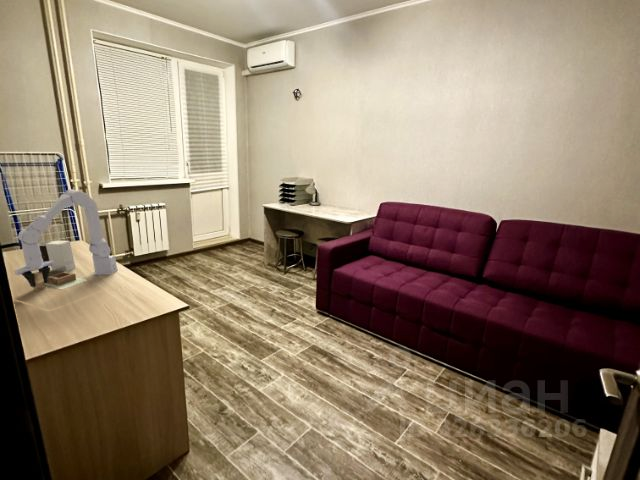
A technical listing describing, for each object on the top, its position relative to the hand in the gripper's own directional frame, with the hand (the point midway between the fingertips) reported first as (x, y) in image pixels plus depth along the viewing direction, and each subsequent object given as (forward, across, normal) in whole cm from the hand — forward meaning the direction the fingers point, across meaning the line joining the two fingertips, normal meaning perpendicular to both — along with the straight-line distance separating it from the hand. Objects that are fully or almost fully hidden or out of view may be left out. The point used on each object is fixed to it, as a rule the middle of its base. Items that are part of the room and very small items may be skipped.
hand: (38, 284), depth 152 cm
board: (+2, +9, -2) cm, 10 cm away
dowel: (+2, 0, 0) cm, 2 cm away
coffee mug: (+3, +25, +35) cm, 43 cm away
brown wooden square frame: (+2, +9, 0) cm, 10 cm away
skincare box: (+3, +19, +15) cm, 24 cm away
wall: (+2, +10, +4) cm, 11 cm away
